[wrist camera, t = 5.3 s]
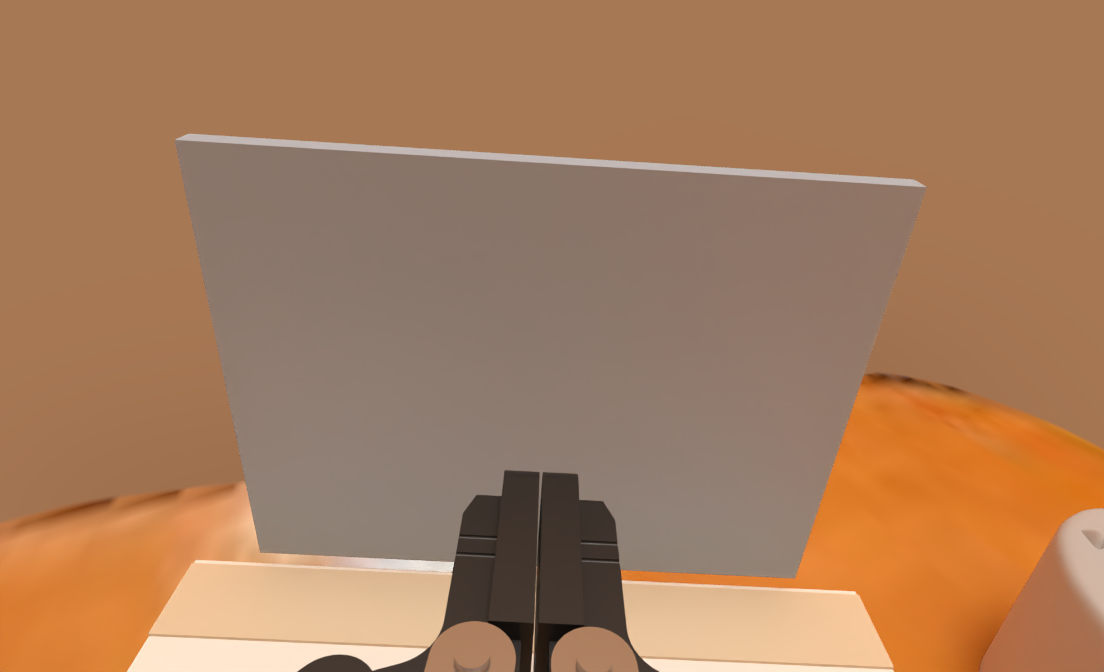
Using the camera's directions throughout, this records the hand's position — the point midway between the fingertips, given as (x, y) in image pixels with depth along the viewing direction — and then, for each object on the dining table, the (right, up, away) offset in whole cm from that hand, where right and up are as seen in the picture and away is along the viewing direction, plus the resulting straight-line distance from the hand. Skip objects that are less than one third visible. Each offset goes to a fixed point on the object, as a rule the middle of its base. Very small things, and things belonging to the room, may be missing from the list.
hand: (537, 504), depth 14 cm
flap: (0, -3, +7) cm, 8 cm away
